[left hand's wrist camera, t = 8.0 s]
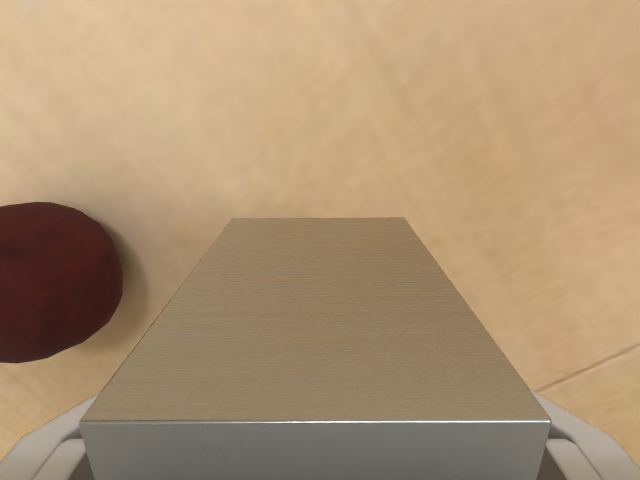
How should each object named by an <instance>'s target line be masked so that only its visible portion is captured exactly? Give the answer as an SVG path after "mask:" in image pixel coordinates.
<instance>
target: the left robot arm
mask: <svg viewBox="0 0 640 480" xmlns="http://www.w3.org/2000/svg"><path fill="white" fill-rule="evenodd" d="M530 391H531V392H532V393H533V395H534V396H535V397H536V399H537V400H538V402H539V403H540V404H541V406H542V407H543V408H544V410H545V411H546V412H547V414H548V415H549V417H550V418H551V421H552V423H551V427H550V431H549V435H548V438H547V442H546V446H545V449H544V453H543V457H542V461H541V464H540V468H539V472H538V476H537V479H536V480H640V467H639V466H638V465H637V463H636V462H635V461H634V460H633V459H632V458H631V457H630V455H629V454H628V453H627V452H626V451H625V450H624V449H623V447H622V446H621V445H620V444H619V443H618V442H617V441H616V439H615V438H614V437H612V436H610V435H608V434H607V433H605V432H603V431H602V430H600V429H598V428H596V427H595V426H593V425H591V424H590V423H588V422H586V421H584V420H583V419H581V418H579V417H577V416H576V415H574V414H572V413H571V412H569V411H567V410H565V409H564V408H562V407H560V406H559V405H557V404H555V403H553V402H552V401H550V400H548V399H546V398H545V397H543V396H541V395H540V394H538V393H536V392H534V391H533V390H531V389H530ZM101 392H102V391H101ZM101 392H100V393H101ZM100 393H98V394H96V395H94V396H93V397H91V398H89V399H87V400H86V401H84V402H82V403H80V404H79V405H77V406H75V407H73V408H72V409H70V410H68V411H66V412H65V413H63V414H61V415H59V416H58V417H56V418H54V419H52V420H51V421H49V422H47V423H45V424H44V425H42V426H40V427H39V428H37V429H35V430H33V431H32V432H30V433H28V434H26V435H25V436H23V437H21V439H20V440H19V441H18V442H17V443H16V444H15V445H14V446H13V447H12V449H11V450H10V451H9V452H8V453H7V454H6V455H5V456H4V458H3V459H2V460H1V461H0V480H95V479H94V476H93V472H92V469H91V465H90V462H89V459H88V455H87V452H86V449H85V445H84V442H83V439H82V435H81V432H80V428H79V421H80V419H81V418H82V417H83V415H84V414H85V413H86V411H87V410H88V409H89V407H90V406H91V405H92V404H93V402H94V401H95V400H96V398H97V397H98V396H99V394H100Z"/></svg>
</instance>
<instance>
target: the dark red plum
mask: <svg viewBox="0 0 640 480" xmlns="http://www.w3.org/2000/svg"><path fill="white" fill-rule="evenodd" d="M122 280H123V271H122V268H121V264H120V261H119V258H118V255H117V252H116V250H115V247H114V244H113V241H112V239H111V238H110V237H109V235H108V234H107V233H106V232H105V230H104V229H103V228H102V227H101V225H100V224H99V223H98V222H96V221H94V220H93V219H91V218H90V217H88V216H87V215H85V214H84V213H82V212H81V211H78V210H76V209H74V208H71V207H67V206H63V205H59V204H55V203H51V202H33V203H24V204H15V205H7V206H2V207H0V362H2V363H22V362H30V361H35V360H40V359H45V358H48V357H50V356H52V355H54V354H56V353H58V352H61V351H63V350H65V349H68V348H70V347H73V346H75V345H77V344H80V343H82V342H84V341H85V340H87V339H88V338H89V337H90V336H92V335H93V334H94V333H96V332H97V331H98V330H99V329H101V328H102V327H103V326H104V325H105V324H107V323H108V322H109V321H110V319H111V317H112V315H113V314H114V312H115V310H116V308H117V306H118V304H119V302H120V299H121V296H122Z"/></svg>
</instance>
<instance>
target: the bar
mask: <svg viewBox="0 0 640 480" xmlns="http://www.w3.org/2000/svg"><path fill="white" fill-rule="evenodd" d="M551 423H552V421H551V418H550V417H549V415H548V414H547V412H546V411H545V410H544V408H543V407H542V406H541V404H540V403H539V402H538V400H537V399H536V397H535V396H534V395H533V393H532V392H531V391H530V389H529V388H528V386H527V385H526V384H525V382H524V381H523V380H522V378H521V377H520V376H519V374H518V373H517V371H516V370H515V369H514V367H513V366H512V365H511V363H510V362H509V360H508V359H507V358H506V356H505V355H504V354H503V352H502V351H501V350H500V348H499V347H498V345H497V344H496V343H495V341H494V340H493V339H492V337H491V336H490V335H489V333H488V332H487V330H486V329H485V328H484V326H483V325H482V324H481V322H480V321H479V319H478V318H477V317H476V315H475V314H474V313H473V311H472V310H471V309H470V307H469V306H468V304H467V303H466V302H465V300H464V299H463V298H462V296H461V295H460V293H459V292H458V291H457V289H456V288H455V287H454V285H453V284H452V283H451V281H450V280H449V278H448V277H447V276H446V274H445V273H444V272H443V270H442V269H441V268H440V266H439V265H438V263H437V262H436V261H435V259H434V258H433V257H432V255H431V254H430V252H429V251H428V250H427V248H426V247H425V246H424V244H423V243H422V242H421V240H420V239H419V237H418V236H417V235H416V233H415V232H414V231H413V229H412V228H411V226H410V225H409V224H408V222H407V221H406V220H405V218H263V219H231V221H230V222H229V223H228V225H227V226H226V227H225V229H224V230H223V231H222V233H221V234H220V235H219V237H218V238H217V239H216V241H215V242H214V243H213V245H212V246H211V247H210V249H209V250H208V251H207V253H206V254H205V255H204V257H203V258H202V259H201V261H200V262H199V263H198V265H197V266H196V267H195V268H194V270H193V271H192V272H191V274H190V275H189V276H188V278H187V279H186V280H185V282H184V283H183V284H182V286H181V287H180V288H179V290H178V291H177V292H176V294H175V295H174V296H173V298H172V299H171V300H170V302H169V303H168V304H167V306H166V307H165V308H164V310H163V311H162V312H161V313H160V315H159V316H158V317H157V319H156V320H155V321H154V323H153V324H152V325H151V327H150V328H149V329H148V331H147V332H146V333H145V335H144V336H143V337H142V339H141V340H140V341H139V343H138V344H137V345H136V347H135V348H134V349H133V351H132V352H131V353H130V355H129V356H128V357H127V359H126V360H125V361H124V362H123V364H122V365H121V366H120V368H119V369H118V370H117V372H116V373H115V374H114V376H113V377H112V378H111V380H110V381H109V382H108V384H107V385H106V386H105V388H104V389H103V390H102V392H101V393H100V394H99V396H98V397H97V398H96V400H95V401H94V402H93V404H92V405H91V406H90V407H89V409H88V410H87V411H86V413H85V414H84V415H83V417H82V418H81V419H80V421H79V428H80V432H81V435H82V439H83V442H84V445H85V449H86V452H87V455H88V459H89V462H90V465H91V469H92V472H93V476H94V479H95V480H536V479H537V476H538V472H539V468H540V464H541V461H542V457H543V453H544V449H545V446H546V442H547V438H548V435H549V431H550V427H551Z"/></svg>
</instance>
